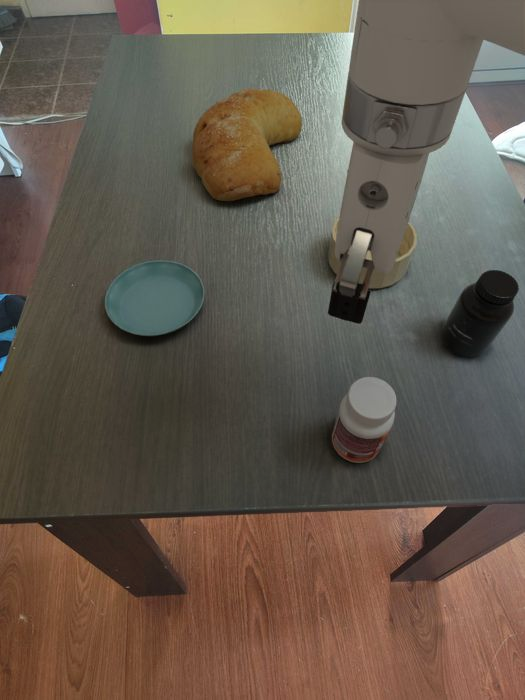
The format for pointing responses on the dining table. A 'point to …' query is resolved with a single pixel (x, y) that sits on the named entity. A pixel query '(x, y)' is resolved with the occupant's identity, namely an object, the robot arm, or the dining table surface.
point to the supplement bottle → (480, 313)
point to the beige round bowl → (378, 277)
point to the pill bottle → (364, 419)
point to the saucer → (154, 298)
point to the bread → (243, 143)
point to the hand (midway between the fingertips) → (357, 280)
